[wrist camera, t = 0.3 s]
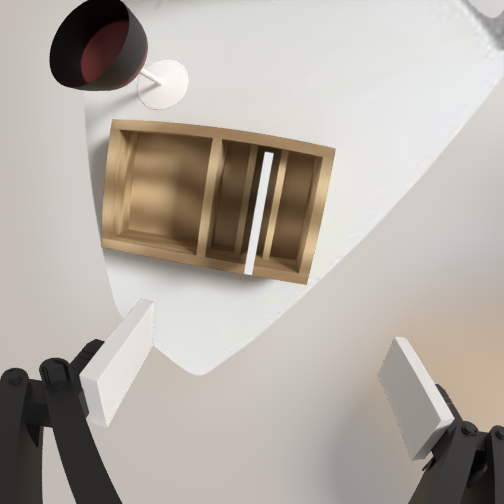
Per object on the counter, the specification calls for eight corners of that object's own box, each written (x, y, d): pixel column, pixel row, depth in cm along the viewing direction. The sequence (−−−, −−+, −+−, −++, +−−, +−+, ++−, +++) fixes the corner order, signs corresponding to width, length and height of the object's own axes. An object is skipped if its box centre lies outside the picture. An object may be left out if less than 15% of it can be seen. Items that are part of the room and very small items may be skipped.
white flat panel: (266, 153, 38) (265, 151, 28) (272, 155, 38) (273, 153, 28) (250, 244, 42) (244, 273, 31) (256, 245, 42) (251, 275, 31)
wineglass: (132, 114, 38) (42, 93, 19) (140, 58, 36) (61, 7, 17) (186, 113, 38) (119, 81, 19) (193, 54, 35) (138, -12, 16)
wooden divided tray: (135, 124, 39) (112, 119, 32) (324, 150, 39) (335, 148, 32) (123, 233, 43) (101, 247, 37) (301, 265, 43) (306, 284, 37)
